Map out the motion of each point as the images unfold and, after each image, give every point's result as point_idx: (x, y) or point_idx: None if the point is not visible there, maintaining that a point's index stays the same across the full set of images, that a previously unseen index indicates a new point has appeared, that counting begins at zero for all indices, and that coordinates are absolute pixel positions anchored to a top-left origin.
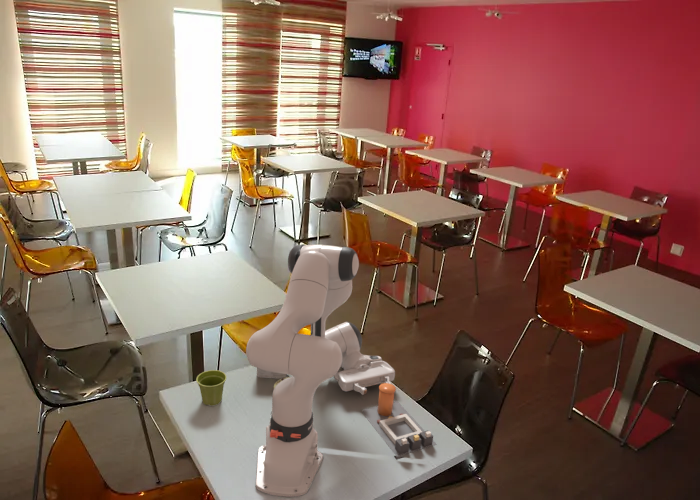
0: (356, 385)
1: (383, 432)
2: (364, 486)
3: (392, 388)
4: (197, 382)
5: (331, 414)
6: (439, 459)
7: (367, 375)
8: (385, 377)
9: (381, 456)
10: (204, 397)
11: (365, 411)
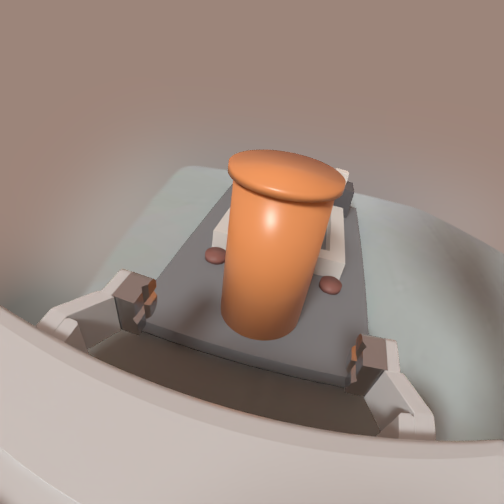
0: (425, 406)
1: (345, 255)
2: (439, 225)
3: (262, 156)
4: None
5: (483, 438)
6: None
7: (228, 455)
8: (70, 328)
9: (384, 235)
10: None
11: None
